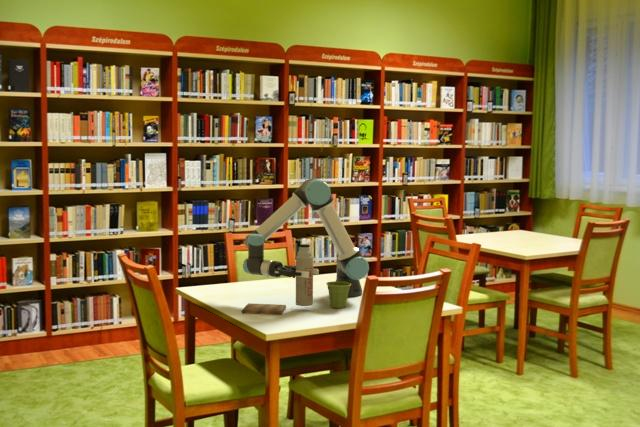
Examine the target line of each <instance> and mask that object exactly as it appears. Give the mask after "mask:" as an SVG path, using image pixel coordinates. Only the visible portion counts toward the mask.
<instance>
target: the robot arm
mask: <svg viewBox="0 0 640 427" xmlns="http://www.w3.org/2000/svg"><path fill="white" fill-rule="evenodd" d="M334 201H335V199H334V197H333V195H332V193H331V187H330V186H329V184H328V183H327V182H325V181H324V180H322V179H317V178H309V179H306V180H304V181H303V183H301V184H300V185H299V186H298V187H297V188H296V189H295V191H294V192H292V196H291V197H290V198H288V199H287V201H285V202H284V203H283V204H282V205H281V206H280V207H278V209H277V210H275V211H274V212H273V213H272V214H271V215H270V216H269V217H267V218H266V220H264V222H263V223H261V224H260V225H259V226H258V227H257V228H255V230H254V231H253V232H251V233H250V234H247V235H246V236H245V238H244V245H245V247H246V249H247V252H248V253H247V254H248V256H247V257H246V258H245V259H244V261H243V264H242V269H243V271H244V272H245V273H246V274H250V275H258V276H265V277H267V278H269V277H273V278H280V277H281V276H283V277H289V278H292V279H296V277H304V278H309V272H306V271H297V270H296V265H288V264H284V265H283V263H282V261H278V260H270V259H264V258H265V257H264V254H265V251H264V250H265V242H266V241H267V240H268V239H269V238H271V237H272V236H273V235H274V234H275V233H276V232H277V231H278V230H279V229H280V228H281V227H283V226H284V225H285V224H286V223H287V222H288V221H290V220H291V219H292V218H293V216H295V215H296V214H297V213H298V212H299V211H301V209H302V208H307V207H308V206H310V208H311V210H312V212H315V213H317V215H318V216H319V218H320V221H321V223H322V224H323V226H324V228H325V231H326V232H327V234H328V236H329V238H330V240H331V242H332V244H333V246H334V248H335V249H336V280H335V281H340V282H348V283H351V286H350V289H349V292H348V297H350V298H351V297H353V298H354V297H360V296H362V295H363V289H362V285H361V282H360V280H362V279H364V278H366V276H367V275H368V274H369V271H370V266H369V265H370V264H369V262H368V261H367V259H366V258H365V257H364V256H363V254H362V252H361V250H360V248H359V247H356V246H355V245H354V243H353V241H352V239H351V238H350V235H349V234H348V233H349V232H348V231H347V230H346V227H345V226H344V224H343V222H342V220H341V218H340V216H339V214H338V212H337V209H336V208H335V206H334V203H335V202H334ZM319 272H320V270H319V269H318V268H313V276H315V275H316V276H319ZM348 297H347V298H348Z"/></svg>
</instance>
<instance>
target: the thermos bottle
mask: <svg viewBox="0 0 640 427" xmlns="http://www.w3.org/2000/svg"><path fill="white" fill-rule="evenodd" d="M298 246H299V250H298V251H297V253H296V254H297V255H296V257H295V266H296V270H297V271H306V272H309V278H304V277H296V276H295V306H298V307H310V306H313V305H314V275H313V269H314V256H312V255H313V252H312V251H311V248H310V247H311V245H310V244H308V243H307V244H306V243H305V244H299V245H298Z"/></svg>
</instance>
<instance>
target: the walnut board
mask: <svg viewBox="0 0 640 427" xmlns="http://www.w3.org/2000/svg"><path fill="white" fill-rule="evenodd" d="M286 309H287V305H286V304H271V303H269V304H268V303H252V302H251V303H249V302H248V303H247V304H246V305H245V306H244V307H243V308H242V309H241V313H242V314H248V315H249V314H250V315H251V314H252V315H253V314H254V315H272V316H273V315H274V316H277V315H278V316H282V315H283V313H284V312H285V310H286Z"/></svg>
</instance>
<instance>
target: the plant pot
mask: <svg viewBox="0 0 640 427" xmlns="http://www.w3.org/2000/svg"><path fill="white" fill-rule="evenodd" d="M326 286H327V290H328V297H329V298H328V299H329V305H330V307H331V308H333V309H336V308H337V309H345V308H346V307H347V302H348V292H349V289H350V286H351V283H348V282H340V281H336V280H335V281H328V282H326Z"/></svg>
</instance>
